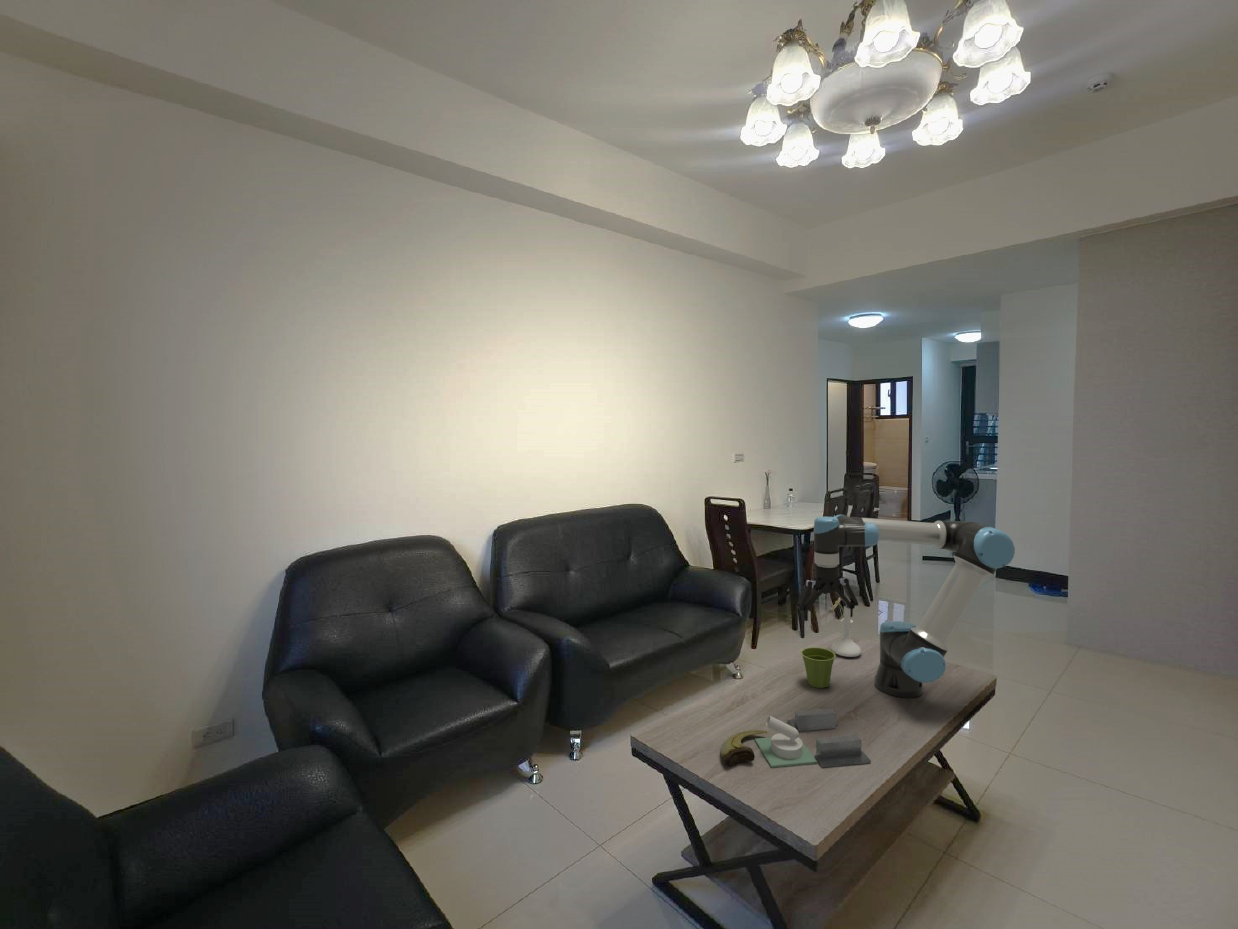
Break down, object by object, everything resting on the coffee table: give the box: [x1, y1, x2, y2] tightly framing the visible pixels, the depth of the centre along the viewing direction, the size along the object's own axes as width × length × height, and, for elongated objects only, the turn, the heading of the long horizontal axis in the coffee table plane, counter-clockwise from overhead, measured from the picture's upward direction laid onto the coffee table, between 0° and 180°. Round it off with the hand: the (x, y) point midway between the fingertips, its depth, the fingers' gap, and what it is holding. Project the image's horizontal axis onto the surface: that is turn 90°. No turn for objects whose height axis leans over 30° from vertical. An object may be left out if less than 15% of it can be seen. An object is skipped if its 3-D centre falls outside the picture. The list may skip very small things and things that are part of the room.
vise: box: [787, 708, 872, 769], centre depth 158 cm, size 14×23×5 cm, turn 6°
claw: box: [720, 729, 768, 766], centre depth 156 cm, size 20×10×3 cm, turn 152°
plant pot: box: [800, 646, 837, 689], centre depth 193 cm, size 12×12×11 cm
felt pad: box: [754, 736, 818, 769], centre depth 154 cm, size 13×13×1 cm
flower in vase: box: [830, 596, 863, 658], centre depth 217 cm, size 13×11×25 cm
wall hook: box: [765, 715, 804, 759], centre depth 154 cm, size 9×10×10 cm
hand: (827, 628), depth 176 cm, fingers open, 13 cm apart
